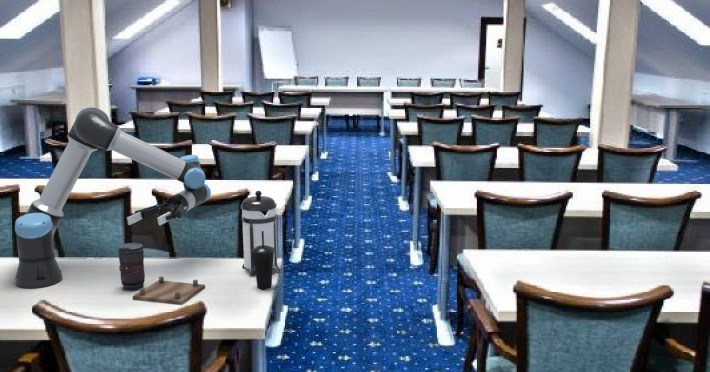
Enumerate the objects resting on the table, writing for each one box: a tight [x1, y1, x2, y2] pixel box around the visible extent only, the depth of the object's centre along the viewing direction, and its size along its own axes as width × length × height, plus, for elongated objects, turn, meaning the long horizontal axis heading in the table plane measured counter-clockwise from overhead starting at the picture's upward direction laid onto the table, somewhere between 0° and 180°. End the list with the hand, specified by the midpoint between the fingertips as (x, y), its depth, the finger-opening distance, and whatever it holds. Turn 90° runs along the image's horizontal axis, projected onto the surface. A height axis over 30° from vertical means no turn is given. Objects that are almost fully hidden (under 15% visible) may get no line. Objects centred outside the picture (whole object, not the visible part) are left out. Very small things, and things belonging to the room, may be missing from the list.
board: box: [132, 276, 206, 305], centre depth 243 cm, size 18×16×3 cm
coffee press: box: [240, 190, 281, 277], centre depth 264 cm, size 17×16×30 cm
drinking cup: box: [252, 231, 275, 291], centre depth 246 cm, size 8×8×20 cm
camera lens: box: [118, 242, 146, 292], centre depth 247 cm, size 8×8×15 cm
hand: (143, 221), depth 253 cm, fingers open, 13 cm apart
